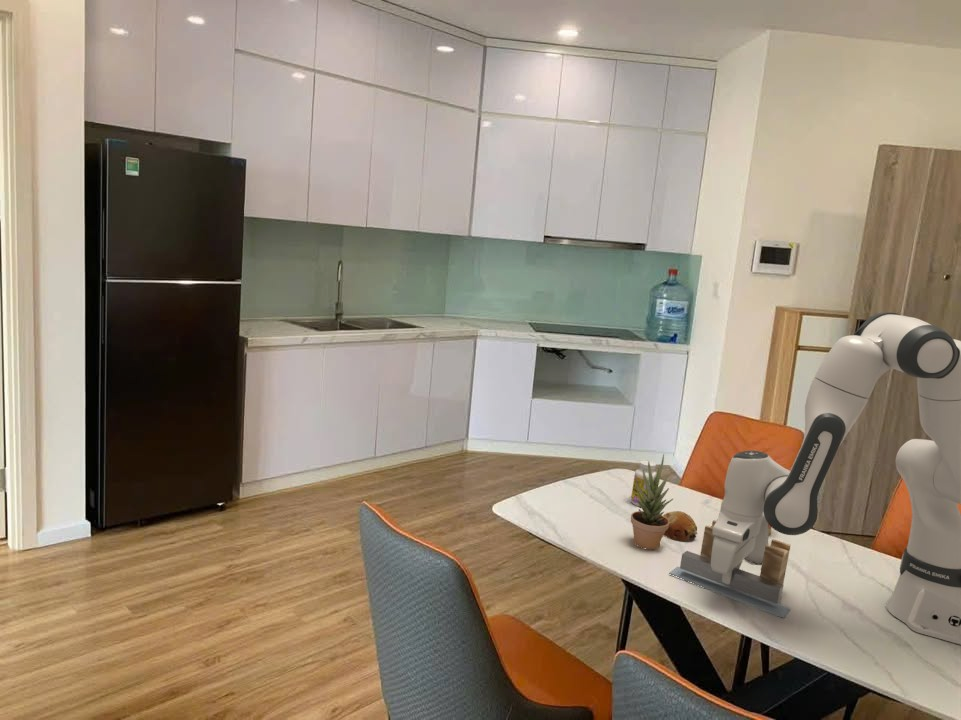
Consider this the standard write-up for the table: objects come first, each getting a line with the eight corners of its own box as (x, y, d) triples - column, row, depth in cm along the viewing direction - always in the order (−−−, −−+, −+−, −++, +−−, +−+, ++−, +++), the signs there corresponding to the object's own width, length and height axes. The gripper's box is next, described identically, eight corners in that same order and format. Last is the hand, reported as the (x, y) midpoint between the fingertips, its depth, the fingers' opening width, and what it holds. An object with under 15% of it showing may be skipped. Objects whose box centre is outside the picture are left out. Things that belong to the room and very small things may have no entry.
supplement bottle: (627, 499, 218) (633, 458, 216) (648, 500, 219) (654, 459, 217) (634, 507, 211) (640, 465, 209) (656, 509, 212) (662, 467, 210)
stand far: (722, 568, 176) (730, 525, 174) (714, 576, 171) (721, 531, 169) (706, 562, 178) (713, 520, 176) (697, 570, 174) (705, 526, 172)
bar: (780, 599, 158) (783, 584, 158) (777, 604, 156) (779, 589, 155) (684, 564, 171) (686, 550, 170) (679, 568, 169) (682, 554, 168)
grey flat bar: (789, 610, 158) (790, 608, 158) (783, 618, 154) (784, 616, 154) (677, 568, 173) (677, 566, 173) (668, 574, 169) (669, 572, 169)
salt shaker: (768, 566, 180) (777, 517, 178) (744, 562, 181) (752, 513, 179) (764, 557, 185) (772, 509, 183) (740, 553, 186) (749, 505, 184)
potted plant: (635, 552, 180) (649, 457, 176) (622, 536, 189) (635, 446, 185) (672, 553, 182) (687, 459, 177) (658, 537, 191) (671, 448, 187)
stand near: (782, 589, 168) (790, 544, 166) (774, 598, 163) (783, 552, 161) (764, 583, 170) (772, 539, 168) (756, 592, 165) (765, 546, 163)
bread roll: (684, 541, 200) (681, 511, 202) (707, 540, 191) (703, 509, 193) (653, 542, 197) (650, 512, 199) (674, 542, 187) (671, 510, 189)
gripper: (740, 506, 171) (730, 561, 173) (710, 528, 155) (700, 588, 157) (767, 514, 167) (757, 570, 170) (739, 538, 151) (729, 599, 153)
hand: (729, 579), depth 163 cm, fingers closed on bar, 3 cm apart
